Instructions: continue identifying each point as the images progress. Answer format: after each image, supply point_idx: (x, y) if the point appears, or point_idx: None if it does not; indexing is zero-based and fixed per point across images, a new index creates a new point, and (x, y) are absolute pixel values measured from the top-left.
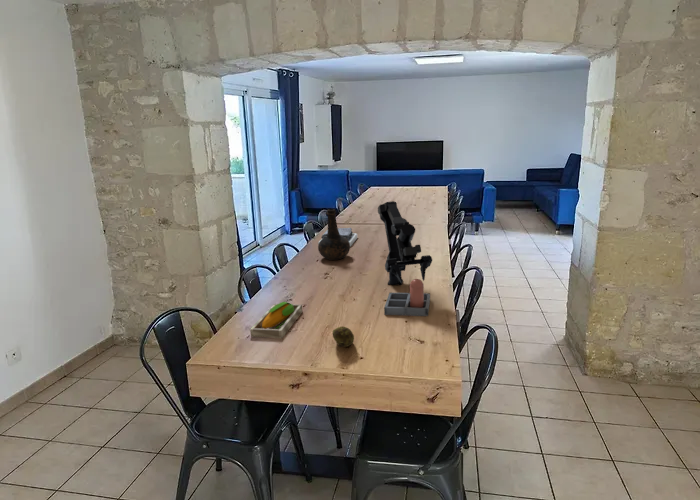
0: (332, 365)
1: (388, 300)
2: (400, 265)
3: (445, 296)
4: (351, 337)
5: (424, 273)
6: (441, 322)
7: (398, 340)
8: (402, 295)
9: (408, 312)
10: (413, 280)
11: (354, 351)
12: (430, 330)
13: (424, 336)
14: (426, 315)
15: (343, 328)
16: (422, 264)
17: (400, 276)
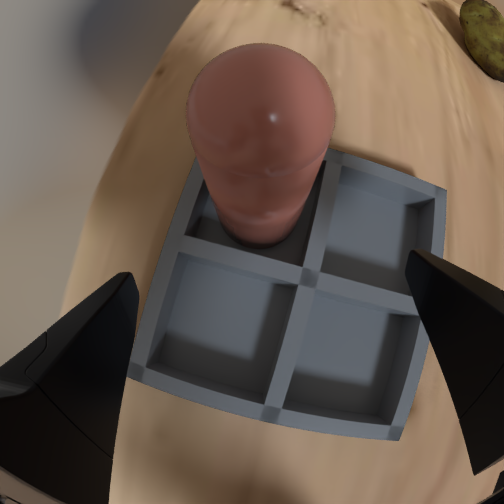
0: None
1: None
2: (491, 495)
3: None
4: (463, 2)
5: (73, 312)
6: (179, 85)
7: (355, 20)
8: (319, 412)
9: None
10: (302, 64)
11: (447, 26)
12: (244, 41)
13: (274, 19)
14: None
15: (489, 3)
16: (2, 432)
17: (458, 276)
